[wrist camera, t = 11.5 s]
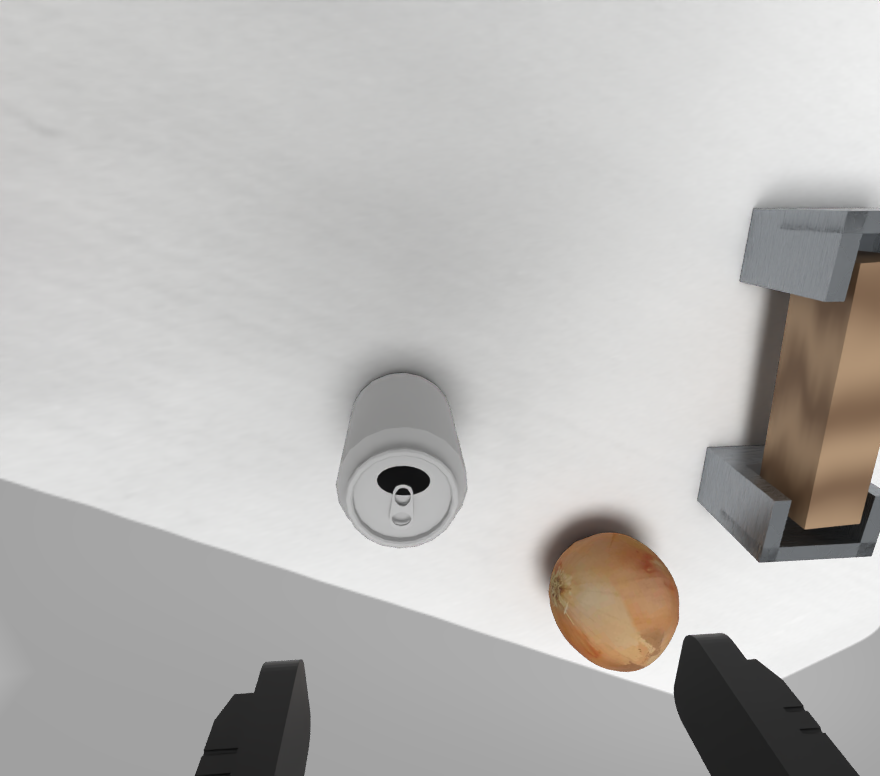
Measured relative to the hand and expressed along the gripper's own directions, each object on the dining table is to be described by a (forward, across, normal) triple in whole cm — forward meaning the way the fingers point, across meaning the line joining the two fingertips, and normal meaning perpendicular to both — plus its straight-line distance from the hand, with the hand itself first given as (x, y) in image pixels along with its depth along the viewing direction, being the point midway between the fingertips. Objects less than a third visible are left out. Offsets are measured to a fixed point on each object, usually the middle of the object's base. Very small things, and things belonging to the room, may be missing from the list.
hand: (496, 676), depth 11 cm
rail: (+25, -27, +3) cm, 37 cm away
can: (+28, +2, +6) cm, 29 cm away
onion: (+28, -14, +20) cm, 37 cm away
